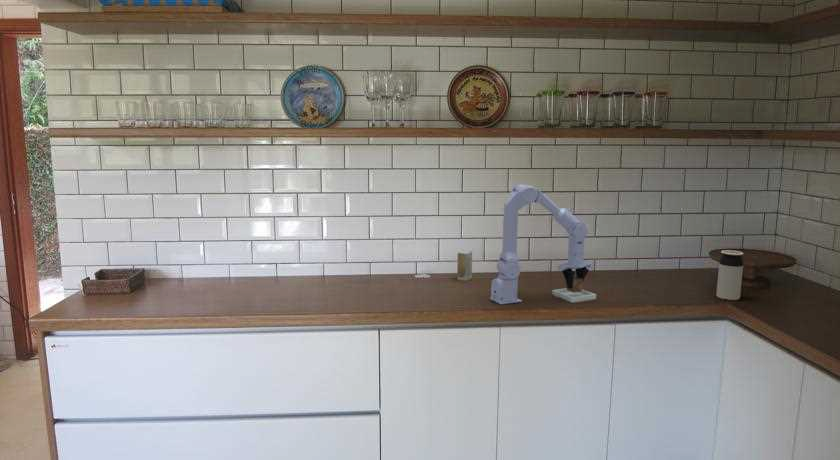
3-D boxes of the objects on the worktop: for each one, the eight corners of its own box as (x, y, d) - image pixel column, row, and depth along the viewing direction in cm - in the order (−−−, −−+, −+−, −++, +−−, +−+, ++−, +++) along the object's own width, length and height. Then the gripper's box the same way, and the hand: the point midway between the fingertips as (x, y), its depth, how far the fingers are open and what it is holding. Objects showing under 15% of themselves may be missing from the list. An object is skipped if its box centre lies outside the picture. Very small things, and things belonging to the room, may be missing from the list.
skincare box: (463, 277, 244) (463, 249, 242) (472, 278, 242) (472, 251, 240) (456, 280, 239) (457, 252, 237) (465, 281, 236) (466, 253, 234)
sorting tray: (571, 303, 205) (571, 297, 205) (552, 295, 216) (552, 290, 216) (596, 299, 210) (596, 294, 210) (576, 292, 220) (576, 287, 220)
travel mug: (739, 301, 208) (744, 254, 205) (715, 298, 212) (719, 252, 209) (740, 296, 215) (744, 251, 212) (716, 293, 219) (721, 249, 216)
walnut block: (573, 292, 210) (574, 279, 209) (566, 290, 214) (567, 277, 213) (581, 291, 211) (582, 278, 211) (575, 289, 215) (575, 276, 214)
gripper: (567, 255, 204) (565, 291, 206) (598, 252, 209) (596, 287, 212) (555, 252, 210) (553, 287, 212) (586, 249, 216) (584, 283, 218)
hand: (574, 287), depth 212 cm, fingers closed on walnut block, 4 cm apart
